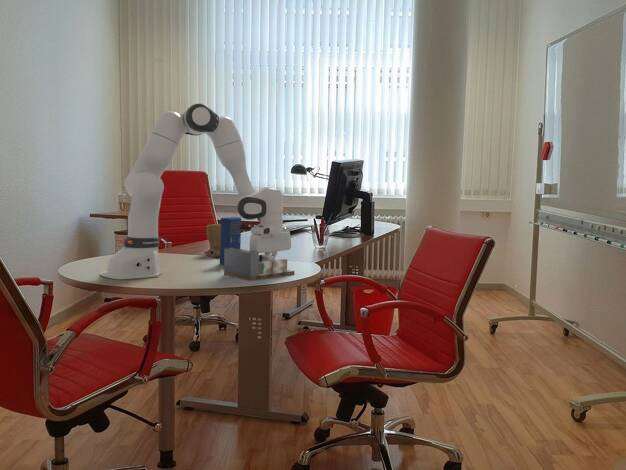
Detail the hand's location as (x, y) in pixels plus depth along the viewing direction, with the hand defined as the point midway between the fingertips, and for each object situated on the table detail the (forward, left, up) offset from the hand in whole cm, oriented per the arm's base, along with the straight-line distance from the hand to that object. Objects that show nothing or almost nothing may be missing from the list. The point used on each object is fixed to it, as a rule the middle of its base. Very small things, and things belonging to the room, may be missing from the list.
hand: (270, 262), depth 260 cm
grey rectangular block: (-16, 0, -3) cm, 16 cm away
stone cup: (+14, +50, -5) cm, 52 cm away
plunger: (-6, -1, -3) cm, 6 cm away
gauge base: (-6, 0, -4) cm, 8 cm away
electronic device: (+3, +28, -5) cm, 28 cm away
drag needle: (-12, -7, +3) cm, 14 cm away
